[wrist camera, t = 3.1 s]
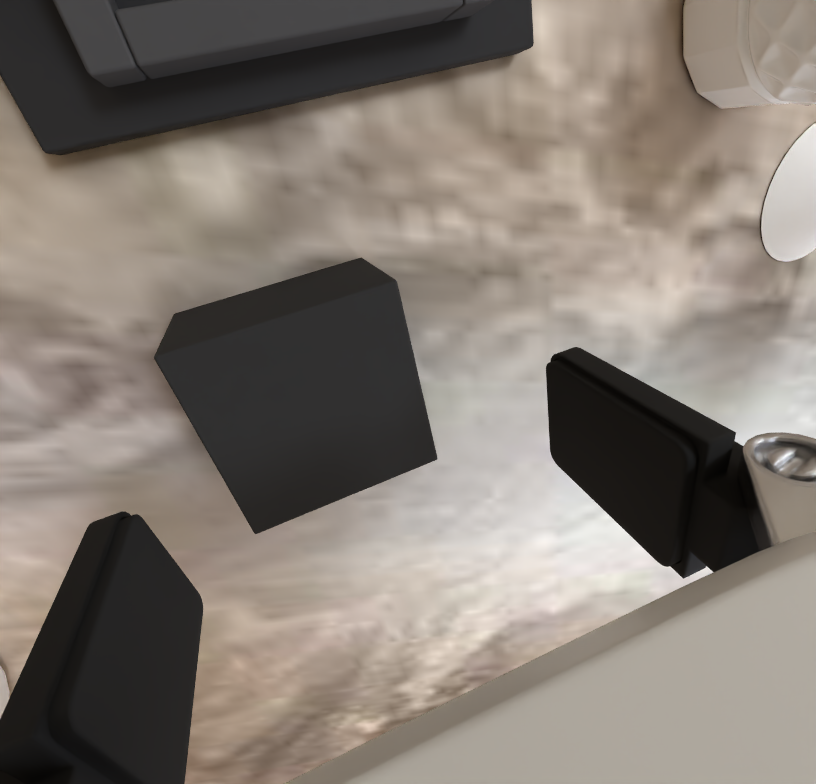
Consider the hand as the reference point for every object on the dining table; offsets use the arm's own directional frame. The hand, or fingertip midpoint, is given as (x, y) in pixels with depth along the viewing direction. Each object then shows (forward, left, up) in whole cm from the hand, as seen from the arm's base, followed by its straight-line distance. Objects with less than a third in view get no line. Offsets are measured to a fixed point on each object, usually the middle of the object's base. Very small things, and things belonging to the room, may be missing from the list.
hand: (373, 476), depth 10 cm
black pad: (-1, 0, -8) cm, 8 cm away
